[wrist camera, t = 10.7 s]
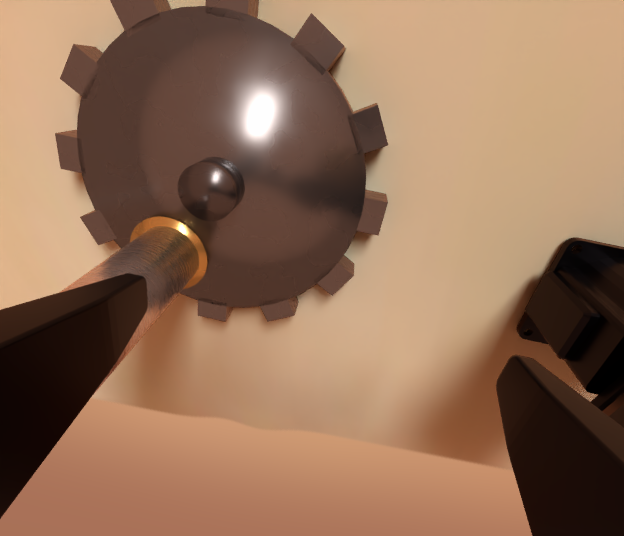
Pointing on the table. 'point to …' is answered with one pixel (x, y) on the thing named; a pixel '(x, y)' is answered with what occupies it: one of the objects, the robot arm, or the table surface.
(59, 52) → the table surface
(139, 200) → the sprocket plate
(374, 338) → the table surface
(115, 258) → the drive pin
